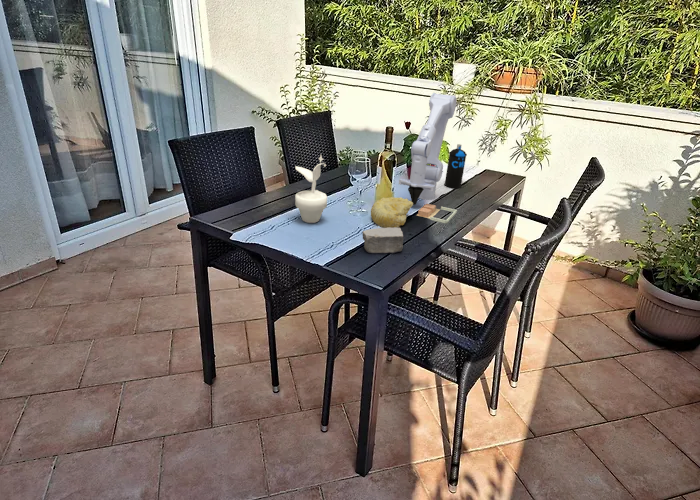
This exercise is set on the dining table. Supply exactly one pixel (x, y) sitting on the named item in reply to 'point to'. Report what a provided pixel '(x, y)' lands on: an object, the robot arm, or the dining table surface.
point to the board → (432, 213)
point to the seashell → (390, 212)
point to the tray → (448, 218)
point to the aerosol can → (455, 168)
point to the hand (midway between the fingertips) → (414, 204)
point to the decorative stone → (383, 240)
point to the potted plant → (311, 196)
